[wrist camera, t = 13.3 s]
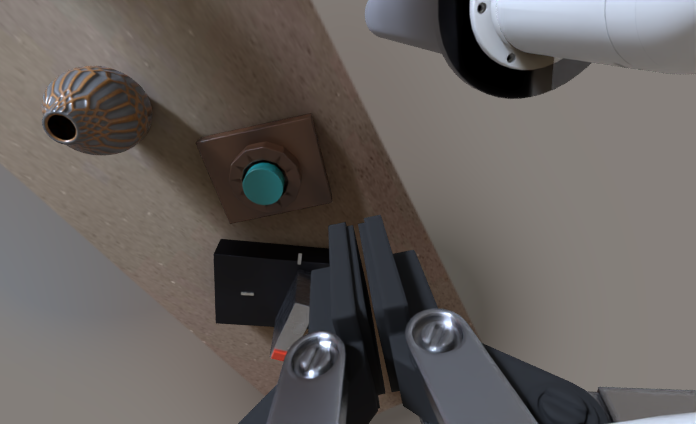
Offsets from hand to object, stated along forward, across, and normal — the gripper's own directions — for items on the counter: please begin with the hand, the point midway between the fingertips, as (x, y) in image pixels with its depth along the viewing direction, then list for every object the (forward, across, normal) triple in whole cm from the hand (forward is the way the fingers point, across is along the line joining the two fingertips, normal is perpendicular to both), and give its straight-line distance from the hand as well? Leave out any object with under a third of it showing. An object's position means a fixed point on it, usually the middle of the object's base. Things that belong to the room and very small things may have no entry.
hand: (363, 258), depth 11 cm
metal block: (+22, +9, +20) cm, 31 cm away
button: (+22, +8, +5) cm, 24 cm away
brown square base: (+25, +8, +5) cm, 27 cm away
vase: (+25, +19, -4) cm, 32 cm away
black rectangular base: (+25, +11, +19) cm, 33 cm away
